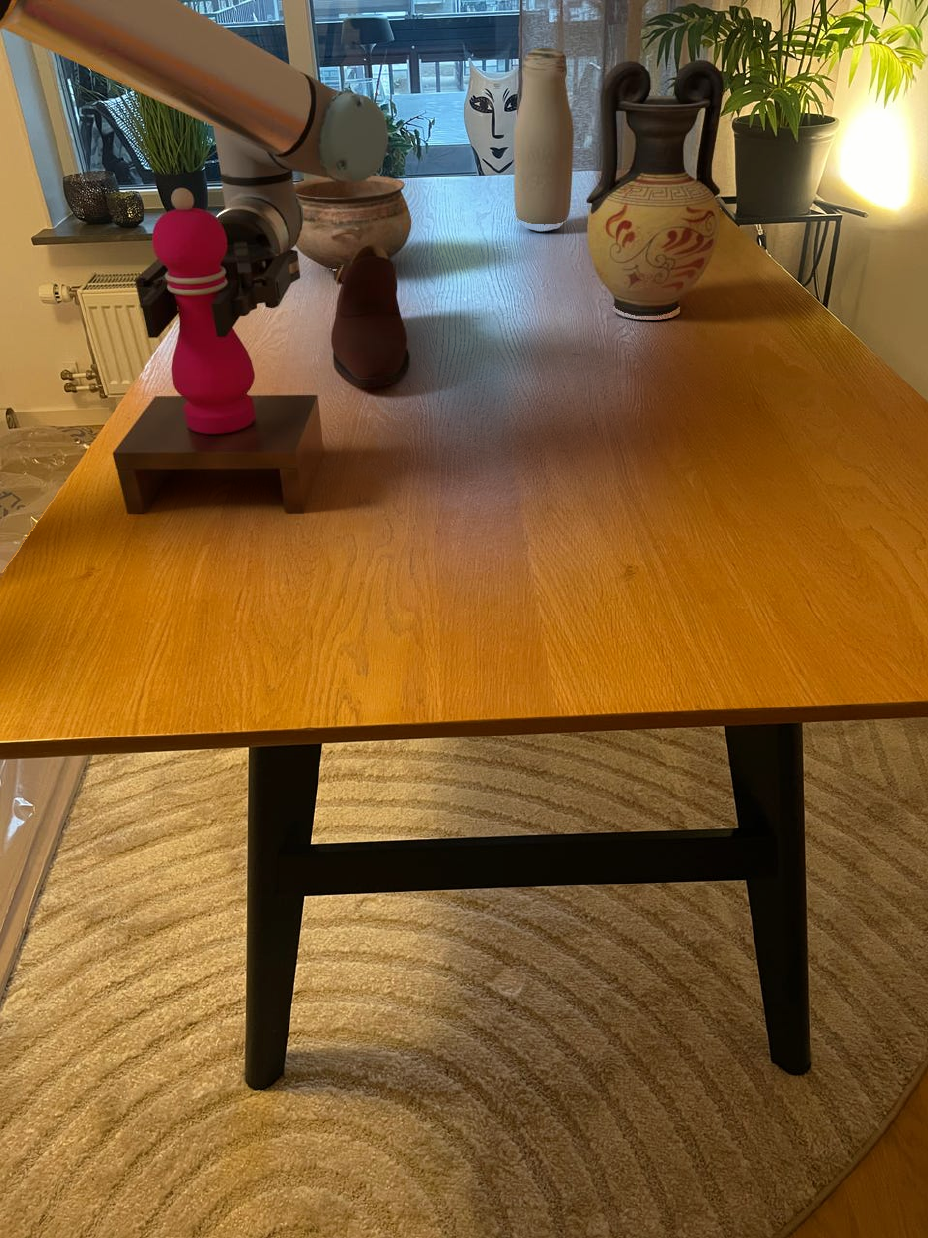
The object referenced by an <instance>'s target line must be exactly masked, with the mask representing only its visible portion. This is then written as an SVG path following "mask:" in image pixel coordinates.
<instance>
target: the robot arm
mask: <svg viewBox="0 0 928 1238" xmlns="http://www.w3.org/2000/svg"><path fill="white" fill-rule="evenodd" d="M2 30H5V31H7V32H8V33H12V34H13V35H16V36H18V37H20V38H21V39H25V40H27V41H29V42H31V43H33V44H35V45H37V46H39V47H41V48H44V49H45V50H48V51H50V52H53V53H54V54H57V55H59V56H61V57H63V58H65V59H67V60H70V61H71V62H74V63H76V64H78V65H79V66H82V67H85V68H87V69H89V70H91V71H93V72H95V73H97V74H100V75H102V76H104V77H106V78H108V79H110V80H112V81H114V82H118V83H119V84H121V85H124V86H126V87H128V88H130V89H132V90H134V91H136V92H139V93H140V94H143V95H145V96H147V97H148V98H151V99H153V100H155V101H158V102H160V103H162V104H164V105H166V106H169V107H171V108H173V109H175V110H176V111H180V112H181V113H184V114H186V115H188V116H190V117H192V118H194V119H197V120H198V121H201V122H203V123H205V124H207V125H209V126H212V129H213V136H214V141H215V146H216V153H217V158H218V165H219V169H220V178H221V187H222V188H221V189H222V195H223V201H224V208H223V209H222V210H221V211H220V212H219V213H218V214H217V215H216V216H215V217H216V218H217V219H218V221H219V222H220V223H221V225H222V227H223V229H224V231H225V234H226V238H227V251H226V254H225V257H224V258H223V260H222V262H221V264H220V266H222V267H224V268H225V270H226V274H225V277H226V280H227V282H228V284H227V285H226V286H225V287H224V288H223V290H222V291H221V292H220V293H219V295H218V296H217V297H216V299H215V300H214V301H213V302H212V304H211V305H212V311H213V317H214V323H215V329H216V335H217V337H226V336H227V335H228V333H229V332H230V330H231V329H232V328H233V327H234V326H235V325H236V323H237V321H238V320H239V319H240V317H246V316H248V315H249V314H250V313H251V311H254V310H257V309H258V304H259V305H260V304H264V308H265V307H266V308H269V309H274V308H275V309H276V308H277V307H279V306H280V304H281V303H282V301H283V299H284V297H285V296H286V293H287V292H288V290H289V288H290V286H291V285H292V283H294V282H296V281H298V280H300V279H301V270H300V261H299V253H298V250H296V249H293V248H294V247H296V246H295V244H296V243H297V241H298V238H299V236H300V232H301V230H302V225H303V208H302V205H301V202H300V200H299V198H298V196H297V195H296V193H295V192H294V184H295V183H294V175H293V172H298V173H302V174H306V175H312V176H317V177H325V178H330V179H332V180H334V181H336V182H342V181H350V182H360V181H363V180H366V179H368V178H370V177H371V176H372V175H375V174H376V173H377V172H378V170H379V169H380V168H381V165H382V164H383V163H384V159H385V156H386V154H387V148H388V144H389V131H388V125H387V121H386V119H385V116H384V115H385V114H384V113H383V111H382V110H381V108H380V106H378V104H377V102H375V101H374V100H373V99H372V98H370V97H368V96H366V95H363V94H359V93H355V92H354V91H353V90H351V89H350V90H348V89H344V90H337V89H335V88H332V87H330V86H328V85H327V84H324V83H322V81H319V80H317V79H316V78H314V77H312V76H310V75H309V74H306V73H304V72H302V71H300V69H299V70H298V69H297V68H296V67H294V66H292V65H291V64H289V63H287V62H285V61H284V60H282V59H280V58H278V57H277V56H275V55H273V54H272V53H270V52H268V51H267V50H264V49H263V48H261V47H259V46H257V45H255V44H254V43H252V42H251V41H250V40H247V39H246V38H244V37H242V36H240V35H238V34H237V33H235V32H234V31H232V30H229V29H228V28H226V27H224V26H223V25H221V24H220V23H218V22H216V21H214V20H212V19H211V18H209V17H208V16H206V15H204V14H202V13H200V12H198V10H195V9H193V8H192V7H190V6H188V5H187V4H185V3H183V2H181V1H179V0H0V31H2ZM168 271H169V270H168V268H167V267H166V266H165V265H164V264H163V263H161V262H160V260H159V259H158V258H157V259H156V260H155V261H154V262H152V263H151V264H150V265H149V266H148V267H147V268H146V269H145V270H144V271H142V272H141V273H140V274H139V275H138V276H137V277H136V278H135V279H134V282H135V287H136V293H137V296H138V301H139V306H140V309H142V314H143V318H144V323H145V329H146V333H147V338H148V339H158V338H159V337H160V336H161V334H163V332H164V331H165V330H166V329H167V328H168V326H169V325H170V324H171V323H172V321H173V320H174V319H175V318H176V317H177V316H178V315H179V312H178V306H177V303H176V299H175V296H174V293H172V292H170V291H169V290H168V288H167V285H168V280H167V279H166V278H165V274H166V272H168Z"/></svg>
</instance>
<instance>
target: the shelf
mask: <svg viewBox="0 0 928 1238" xmlns="http://www.w3.org/2000/svg"><path fill="white" fill-rule="evenodd" d="M248 395H249V396H251V397H252V399H253V402H254V408H255V415H256V417H255V420H254V421H253V423H252V424H250V425H249V426H247V427H246V428H243V429H241V430H238V431H235V432H231V433H225V434H202V433H198V432H195V431H193V430H191V429H190V428H189V427H188V426H187V423H186V418H185V413H184V405H185V403H186V402H187V400H186V399H185V398H184V397H182V396H181V395H155V396H154V397H153V399H152V400H151V401H150V403H149V404H148V405H147V406H146V408H145V409H144V411H143V412H142V413H141V414H140V416H139V417H138V418H137V420H136V421H135V422H134V424H133V425H132V427H130V429H129V430H128V432H127V433H126V434H125V436H124V437H123V438H122V440H121V441H120V442H119V444H118V445H117V447H116V448H115V449H114V450H113V452H112V456H113V461H114V464H115V469H116V472H117V476H118V481H119V483H120V489H121V492H122V497H123V500H124V504H125V508H126V513H127V514H128V515H129V514H135V515H136V514H145V513H146V512H147V510H148V508H149V507H150V505H151V504H152V502H153V500H154V499H155V497H156V496H157V494H158V493H159V491H160V489H161V488H162V486H163V485H164V483H165V481H166V479H167V478H168V476H169V475H170V473H171V471H172V470H267V469H268V470H269V469H270V470H271V469H273V470H274V469H275V470H276V469H277V470H279V476H280V483H281V490H282V498H283V504H284V512H285V514H303V513H304V510H305V508H306V505H307V501H308V499H309V496H310V493H311V490H312V487H313V484H314V482H315V478H316V476H317V472H318V470H319V466H320V464H321V460H322V457H323V454H324V452H325V451H324V450H325V449H324V442H323V440H324V439H323V432H322V423H321V415H320V405H319V404H320V403H319V395H318V394H291V395H290V394H276V395H275V394H274V395H272V394H271V395H270V394H268V395H264V394H263V395H262V394H261V395H260V394H259V395H258V394H257V395H256V394H255V395H251V394H248Z"/></svg>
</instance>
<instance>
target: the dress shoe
mask: <svg viewBox="0 0 928 1238" xmlns="http://www.w3.org/2000/svg"><path fill="white" fill-rule="evenodd" d="M333 279H334V281H335V283H336V284H337V286H339V285H341V286H340V290H339V293H338V297H337V299H336V300H337V301H336V309H335V316H334V321H333V325H332V328H331V338H330V341H331V342H330V343H331V347H332V351H333V352H332V358H333V359H332V360H333V361H332V362H333V363H332V365H333V367H334V369H335V371H336V373H337V374H338V375H339V376H340V377H341V378H342V380H344V381H345V382H346V383H348V384H350V385H351V386H354V387H357V388H374V387H381V386H385V385H386V386H387V385H390V384H393V383H395V382H397V381H399V380H400V379H401V378H403V376H405V375H406V373H407V372H408V370H409V368H410V352H409V349H408V335H407V331H406V330H407V329H406V327H405V323H404V321H403V318H402V315H401V310H400V306H399V301H398V294H397V293H398V277H397V272H396V268H395V264H394V262H393V261H392V258H390V257H389V255H388V254H387V252H386V251H385V250H384V248H382V247H381V246H379V245H375V244H371V245H367V246H364V247H363V248H361V249H360V250H359V251H358V252H357V254H356V255H355V256H354V258H353V259H352V261H351V262H350V264H349V267H345V265H342V267H341V268H338V269H337V270H336V271H335V272H333Z"/></svg>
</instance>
